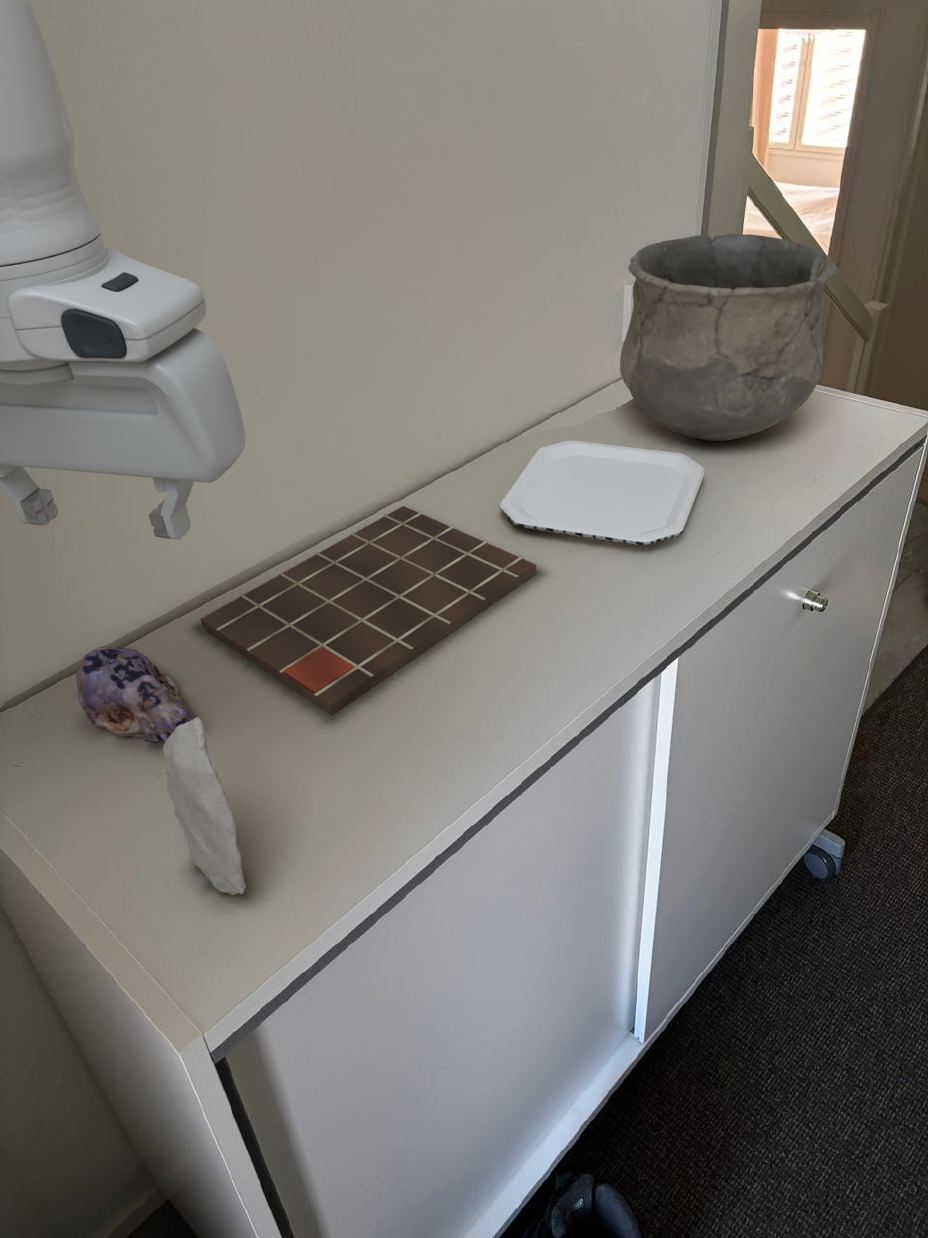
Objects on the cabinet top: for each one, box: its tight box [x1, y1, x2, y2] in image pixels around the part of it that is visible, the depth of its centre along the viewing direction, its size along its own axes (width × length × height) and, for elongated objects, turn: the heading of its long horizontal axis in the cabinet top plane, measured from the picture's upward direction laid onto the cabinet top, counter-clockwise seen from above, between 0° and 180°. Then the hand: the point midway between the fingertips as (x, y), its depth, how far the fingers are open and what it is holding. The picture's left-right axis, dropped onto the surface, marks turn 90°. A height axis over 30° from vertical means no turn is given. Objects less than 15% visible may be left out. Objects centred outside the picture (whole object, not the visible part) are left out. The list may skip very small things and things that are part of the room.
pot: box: [619, 233, 838, 442], centre depth 115 cm, size 25×24×21 cm
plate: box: [499, 440, 706, 546], centre depth 106 cm, size 21×21×2 cm
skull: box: [75, 646, 194, 743], centre depth 80 cm, size 12×8×6 cm, turn 45°
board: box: [200, 505, 537, 716], centre depth 93 cm, size 28×20×1 cm
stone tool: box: [162, 716, 247, 897], centre depth 63 cm, size 9×3×15 cm, turn 48°
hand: (106, 527), depth 57 cm, fingers open, 8 cm apart
